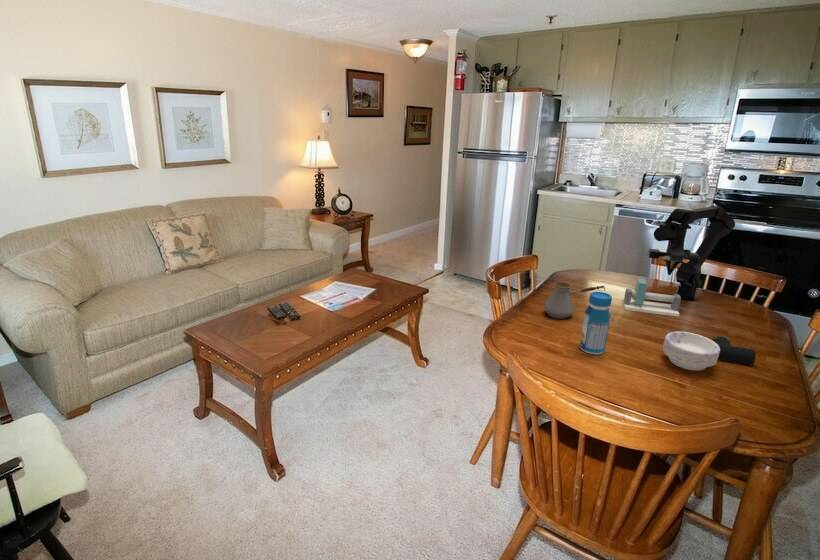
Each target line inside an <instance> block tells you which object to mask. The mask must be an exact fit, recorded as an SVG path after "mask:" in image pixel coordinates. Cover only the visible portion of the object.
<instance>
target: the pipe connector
mask: <svg viewBox="0 0 820 560" xmlns="http://www.w3.org/2000/svg"><path fill="white" fill-rule="evenodd" d="M711 340H712V341H714V342H715V343H716V344H717V345H718V346H719V347H720V353H719V357H718V360H720V359H721V360H722V361H729V362H734V363H740V364H747V365H751V364H752V365H754V364H755V361H756V356H757V355H756V350H755V349H753V348H748V347H747V348H746V347H740V346H733V345H732V344H731V342H730V339H729V337H728V336H727V335H719V334H713V336H712V338H711Z"/></svg>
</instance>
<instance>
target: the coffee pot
mask: <svg viewBox="0 0 820 560" xmlns="http://www.w3.org/2000/svg"><path fill="white" fill-rule="evenodd" d="M553 286H554V290H553V291H552V293H551V295H550V296H549V298H548V299H547V301H546V302H545V304H544V310H545V312H546V313H547V314H548V316H550V317H551V318H555V319H567V318H569V317H570V316H572V315H573V313H575V307H574V304H573V300H572V298H571V295H575V294H578V293H585V292H593V291H596V290H600V289H603V292H605V291H606V287H605V285H601V286H598V285H597V286H592V287H591V286H590V287H587V288H583V289H579V290H574V291H569V290H570V288H572V285H571V284H570V283H568V282H563V281H562V282H561V281H557V282H555V283H553Z"/></svg>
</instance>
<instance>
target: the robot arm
mask: <svg viewBox="0 0 820 560" xmlns="http://www.w3.org/2000/svg"><path fill="white" fill-rule="evenodd" d="M704 219H707V220H708V221H709V224H708V233H707V234H706V236H705V238H704V239H703V240H702V241H701V243H700V245H699V246H698V248H697V250H696V251H695V252H691V249H685V241H686V240H685V239H686V235H687V231H688V230H691V229H692V226H691V225H690V224H693V223H694V222H695V221H697V220H704ZM735 226H736V222H735V219H734V218H733V217H732V216H731V214H728V212H727V211H726V210H725V209H724V208H723V207H720V206H716V205H710V206H706V207H698V208H693V209H686V208H675V209H674V208H673V211H672V212H671V213H670V215H669V216H668V217H667V218H666V220H665V221H664V222H663V223H662V224H661V223H660V224H659V227H656V228H655V230H654V231H653V237H654V240H656V241H657V242H666V241H668V242H667V247H666V250H665V252H664V251H663V252H662V251H660V250H659V249H658V248H648V250H647V257H648V258H649V259H655V260H656V259H657V260H658V259H659V258H661V259H662V261H663V262H665V267H666V271H667V275H668V276H671V275H672V273H674V271H675V269H676V268H677V267H678V265H679V264H680V265H679V267H678V268H677V271H675V280H676V283H679V284H678V285H677V287H676V291H675V294H678V295H680V297H681V300H687V301H694V302H695V301H696V298H695V297H696V293H697V289H699V288H701V287H702V285H703V281H702V279H701V278H700V276H701V275H702V265H704V263H705V261H706V260H707V259H708V257H709V256H710V254H711V253H712V252H713V249H714V248H715V247H716V245H717V244H718V243H719V241H720V240H721V239H722V238H724V237H726V236H728V235H729V234H730V233H731V232H732V230H733V229H734V228H735ZM684 260H689V261H687V262H684Z"/></svg>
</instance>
